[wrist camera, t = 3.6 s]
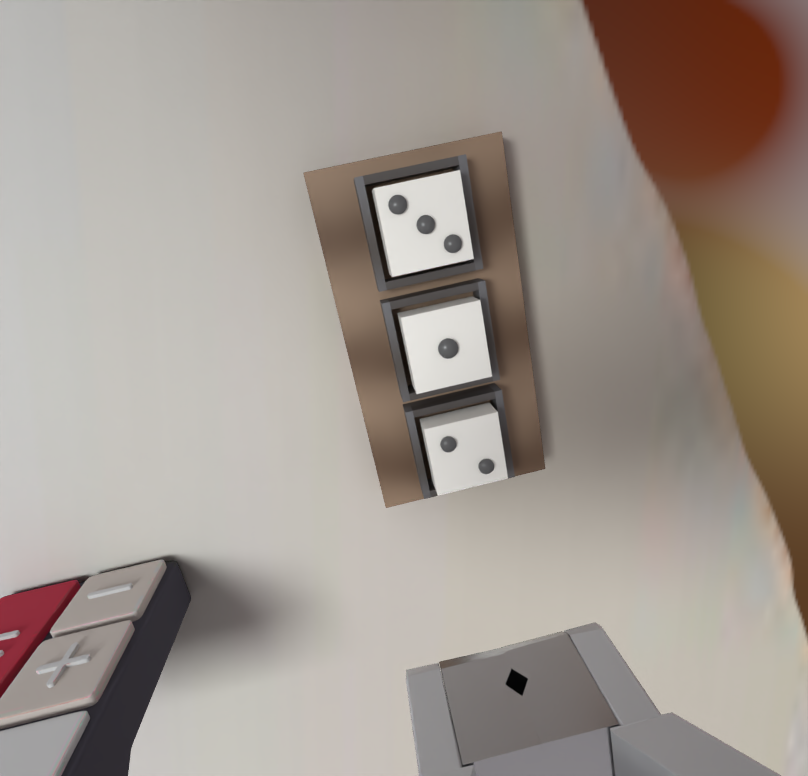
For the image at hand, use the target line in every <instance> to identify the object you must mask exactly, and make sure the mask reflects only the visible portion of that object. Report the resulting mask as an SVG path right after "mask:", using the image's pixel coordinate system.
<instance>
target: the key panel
mask: <svg viewBox="0 0 808 776" xmlns="http://www.w3.org/2000/svg"><path fill="white" fill-rule="evenodd" d="M458 170H460V174H461V180H462V187H463V193H464V199H465V206H466V212H467V219H468V225H469V231H470V238H471V244H472V251H473V257H474V259H471V260H467V261H462V262H458V263H453V264H449V265H444V266H440V267H435V268H430V269H426V270H421V271H417V272H412V273H408V274H403V275H399V276H394V277H392V276H391V275H389V271H388V266H387V261H386V257H385V252H384V247H383V242H382V238H381V233H380V228H379V223H378V218H377V214H376V209H375V204H374V199H373V194H372V190H373V189H374V188H377V187H382V186H387V185H391V184H396V183H401V182H406V181H410V180H415V179H420V178H425V177H429V176H434V175H439V174H443V173H448V172H453V171H458ZM304 177H305V181H306V185H307V189H308V193H309V197H310V201H311V206H312V210H313V214H314V218H315V222H316V226H317V230H318V234H319V238H320V242H321V246H322V250H323V254H324V258H325V262H326V266H327V271H328V275H329V279H330V283H331V287H332V291H333V295H334V299H335V303H336V307H337V311H338V315H339V319H340V323H341V327H342V331H343V336H344V340H345V344H346V348H347V352H348V356H349V360H350V364H351V368H352V372H353V376H354V380H355V384H356V388H357V392H358V396H359V401H360V405H361V409H362V413H363V417H364V421H365V425H366V429H367V433H368V437H369V441H370V445H371V449H372V453H373V457H374V461H375V466H376V470H377V474H378V478H379V482H380V486H381V490H382V494H383V498H384V502H385V506H386V508H388V507H392V506H396V505H400V504H404V503H408V502H412V501H416V500H420V499H426V498H430V497H434V496H438V495H437V492H436V490H435V487H434V484H433V481H432V477H431V472H430V467H429V462H428V457H427V453H426V448H425V443H424V438H423V434H422V429H421V424H420V419H421V418H425V417H430V416H434V415H438V414H442V413H447V412H451V411H455V410H459V409H463V408H468V407H472V406H476V405H480V404H485V403H490V404H491V405H492V406H493V407H494V408H495V410H496V411H497V412H498V417H499V424H500V430H501V436H502V443H503V449H504V456H505V462H506V468H507V475H508V478H512V477H515V476H518V475H522V474H526V473H530V472H534V471H538V470H542V469H545V462H544V455H543V447H542V439H541V432H540V424H539V416H538V408H537V401H536V393H535V385H534V377H533V370H532V362H531V354H530V346H529V339H528V331H527V323H526V316H525V308H524V300H523V292H522V285H521V277H520V269H519V261H518V254H517V246H516V238H515V231H514V223H513V215H512V207H511V200H510V192H509V184H508V176H507V169H506V161H505V153H504V145H503V138H502V132H497V133H492V134H487V135H482V136H478V137H473V138H468V139H463V140H458V141H454V142H449V143H444V144H439V145H434V146H430V147H425V148H420V149H415V150H410V151H406V152H401V153H396V154H391V155H386V156H382V157H377V158H372V159H367V160H362V161H357V162H353V163H348V164H343V165H338V166H333V167H329V168H324V169H319V170H314V171H309V172H305V173H304ZM470 296H473V297H475V298H477V299H479V300H480V302H481V308H482V315H483V321H484V327H485V334H486V340H487V347H488V353H489V359H490V366H491V372H492V377H488V378H484V379H479V380H475V381H471V382H467V383H462V384H458V385H454V386H449V387H445V388H441V389H437V390H432V391H428V392H424V393H420V394H416V392H415V390H414V388H413V385H412V381H411V376H410V371H409V367H408V362H407V357H406V352H405V347H404V343H403V338H402V333H401V328H400V324H399V319H398V314H397V313H399V312H404V311H408V310H413V309H417V308H422V307H426V306H430V305H435V304H439V303H444V302H448V301H453V300H457V299H462V298H466V297H470Z"/></svg>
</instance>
